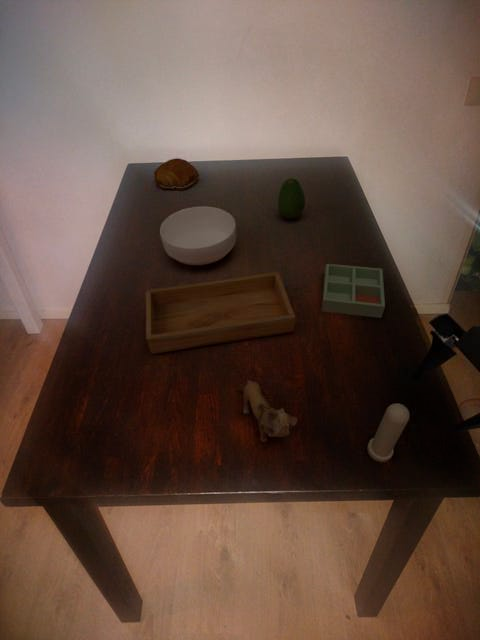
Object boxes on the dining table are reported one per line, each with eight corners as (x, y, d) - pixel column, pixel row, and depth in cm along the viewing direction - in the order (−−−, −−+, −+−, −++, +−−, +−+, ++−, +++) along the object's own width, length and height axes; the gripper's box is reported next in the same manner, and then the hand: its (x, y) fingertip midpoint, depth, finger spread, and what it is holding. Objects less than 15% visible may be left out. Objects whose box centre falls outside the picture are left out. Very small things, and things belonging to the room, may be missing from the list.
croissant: (150, 190, 135) (142, 169, 129) (181, 167, 141) (174, 147, 135) (178, 201, 128) (171, 179, 122) (209, 177, 134) (204, 155, 128)
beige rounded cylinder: (391, 441, 65) (413, 399, 55) (392, 464, 62) (416, 423, 53) (367, 437, 66) (385, 394, 56) (367, 459, 63) (386, 419, 53)
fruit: (309, 220, 113) (313, 181, 105) (285, 227, 111) (287, 188, 103) (295, 207, 118) (298, 170, 110) (272, 214, 116) (273, 176, 108)
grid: (379, 280, 94) (382, 268, 91) (381, 318, 85) (385, 306, 82) (324, 274, 96) (326, 263, 93) (321, 311, 87) (323, 299, 85)
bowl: (238, 231, 111) (236, 204, 105) (236, 274, 97) (234, 247, 91) (171, 233, 112) (165, 207, 106) (160, 276, 98) (153, 249, 92)
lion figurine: (298, 442, 66) (302, 415, 59) (274, 459, 64) (275, 434, 57) (248, 384, 74) (247, 355, 68) (226, 398, 72) (222, 370, 66)
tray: (277, 288, 93) (278, 270, 89) (294, 333, 83) (295, 315, 79) (151, 307, 91) (145, 289, 86) (151, 356, 80) (145, 339, 76)
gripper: (464, 269, 51) (373, 341, 58) (587, 378, 39) (454, 456, 45) (488, 299, 58) (405, 361, 65) (600, 399, 46) (483, 464, 52)
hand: (432, 403), depth 56 cm, fingers open, 9 cm apart
